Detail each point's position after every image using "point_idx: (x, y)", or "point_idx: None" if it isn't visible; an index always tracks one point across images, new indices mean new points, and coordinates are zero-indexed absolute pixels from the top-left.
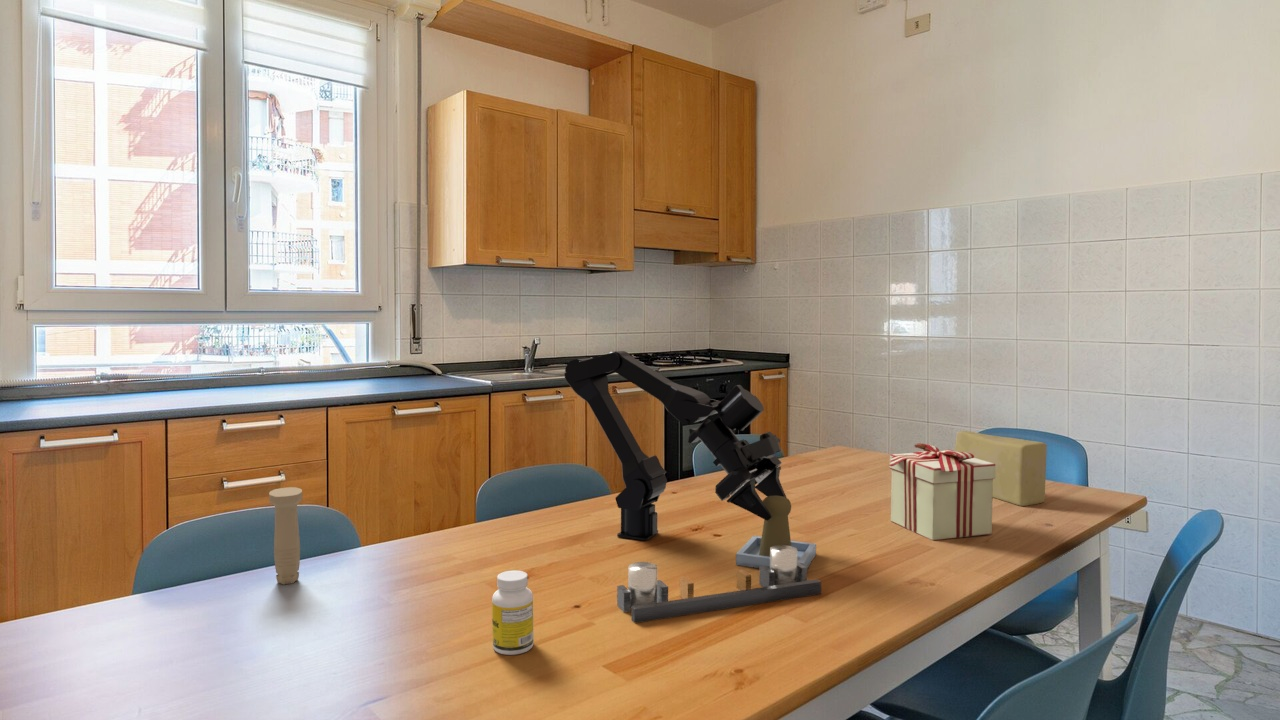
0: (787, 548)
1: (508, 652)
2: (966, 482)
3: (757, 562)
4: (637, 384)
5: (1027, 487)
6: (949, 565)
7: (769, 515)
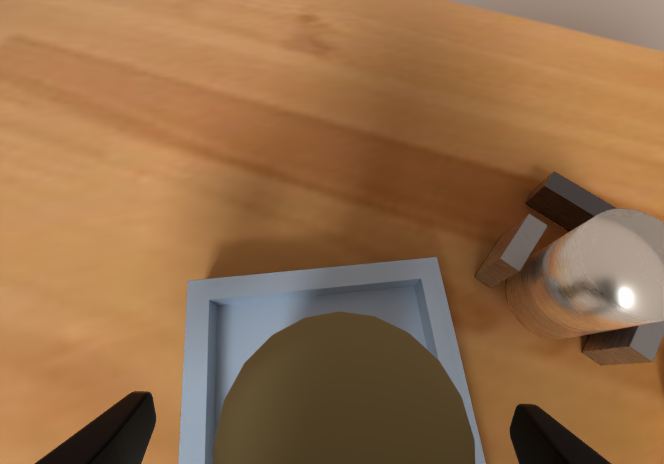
0: (618, 250)
1: None
2: None
3: None
4: None
5: None
6: (159, 3)
7: (547, 416)
